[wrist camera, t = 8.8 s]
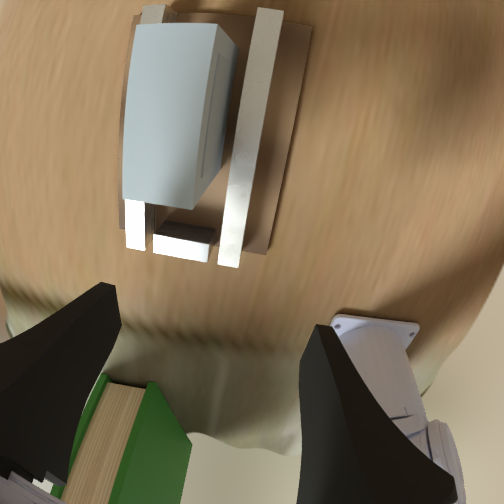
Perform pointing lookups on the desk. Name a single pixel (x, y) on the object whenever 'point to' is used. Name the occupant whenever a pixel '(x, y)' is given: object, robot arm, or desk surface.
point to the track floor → (272, 140)
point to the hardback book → (126, 449)
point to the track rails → (242, 163)
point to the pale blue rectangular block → (176, 111)
